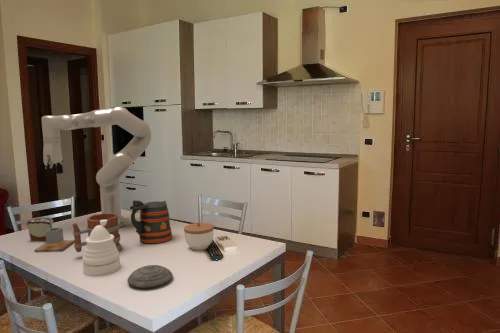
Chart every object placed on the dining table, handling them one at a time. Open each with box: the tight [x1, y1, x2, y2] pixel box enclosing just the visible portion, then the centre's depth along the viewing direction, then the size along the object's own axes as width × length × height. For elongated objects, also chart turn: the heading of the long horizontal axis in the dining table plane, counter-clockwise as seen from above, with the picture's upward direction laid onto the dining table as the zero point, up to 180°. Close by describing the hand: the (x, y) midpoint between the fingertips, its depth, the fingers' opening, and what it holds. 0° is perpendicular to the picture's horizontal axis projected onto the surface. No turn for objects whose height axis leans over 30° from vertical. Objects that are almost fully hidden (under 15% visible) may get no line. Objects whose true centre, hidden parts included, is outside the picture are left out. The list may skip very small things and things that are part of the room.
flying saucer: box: [127, 264, 173, 289], centre depth 131 cm, size 15×15×6 cm
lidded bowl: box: [183, 221, 215, 251], centre depth 163 cm, size 13×13×11 cm
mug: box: [72, 212, 123, 253], centre depth 160 cm, size 14×19×15 cm
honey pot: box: [82, 220, 121, 277], centre depth 142 cm, size 13×13×18 cm
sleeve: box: [45, 227, 64, 247], centre depth 168 cm, size 5×5×7 cm
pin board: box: [34, 239, 75, 253], centre depth 168 cm, size 12×12×7 cm
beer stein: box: [129, 200, 173, 244], centre depth 174 cm, size 19×15×20 cm
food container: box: [25, 217, 54, 243], centre depth 179 cm, size 12×6×10 cm, turn 84°
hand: (55, 174), depth 192 cm, fingers open, 9 cm apart
